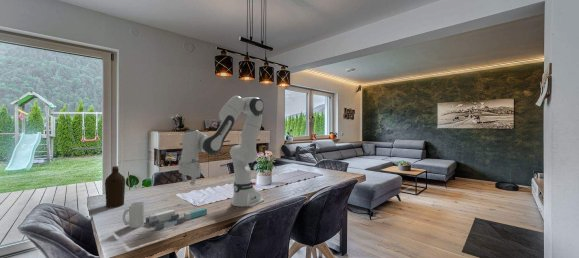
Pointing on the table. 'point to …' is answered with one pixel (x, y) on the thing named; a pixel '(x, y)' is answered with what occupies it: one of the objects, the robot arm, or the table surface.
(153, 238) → the table surface
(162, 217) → the grey elongated block
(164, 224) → the cord comb
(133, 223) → the mug
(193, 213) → the teal rectangular block
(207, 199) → the table surface
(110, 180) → the olive oil
